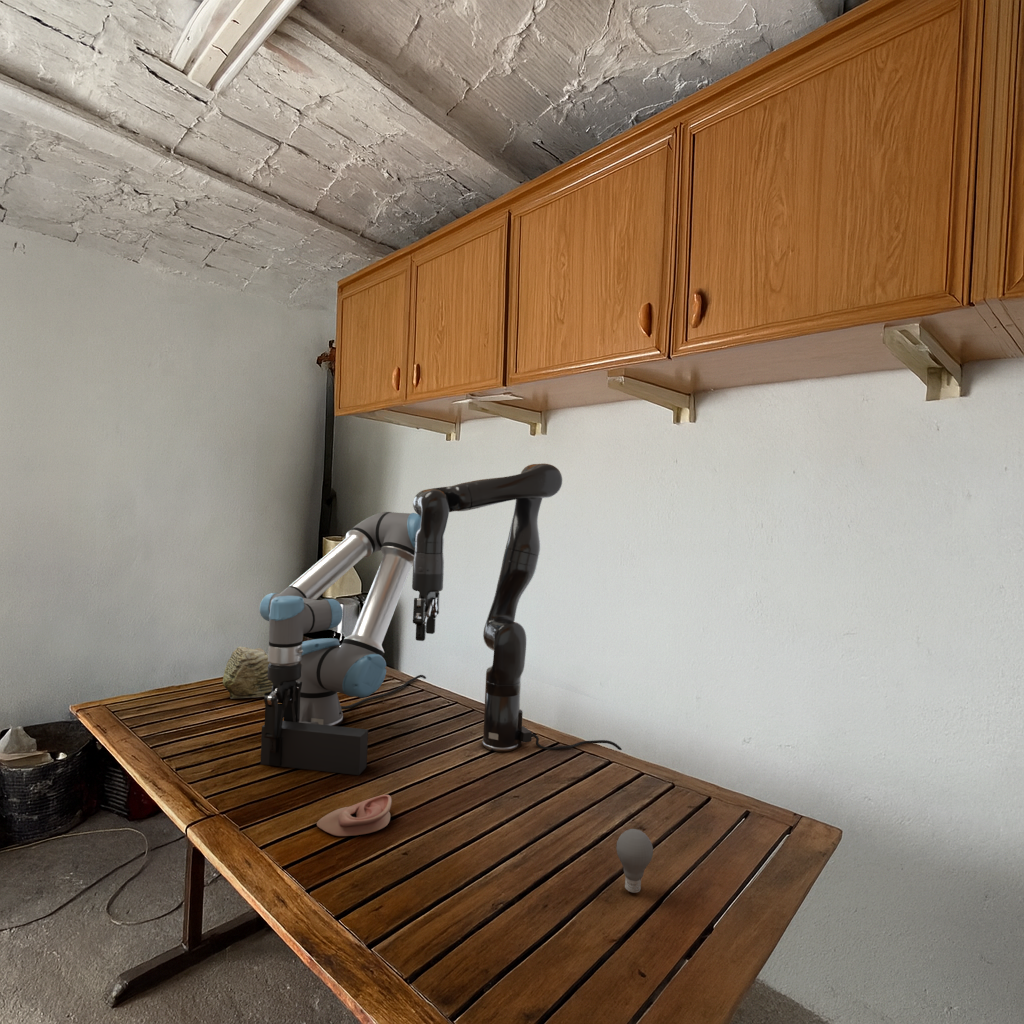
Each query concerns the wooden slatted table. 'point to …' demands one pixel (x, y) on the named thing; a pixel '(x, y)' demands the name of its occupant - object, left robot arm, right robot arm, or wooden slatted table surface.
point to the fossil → (247, 674)
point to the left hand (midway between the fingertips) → (281, 759)
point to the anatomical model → (358, 817)
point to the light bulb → (634, 857)
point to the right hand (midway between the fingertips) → (425, 636)
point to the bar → (320, 747)
